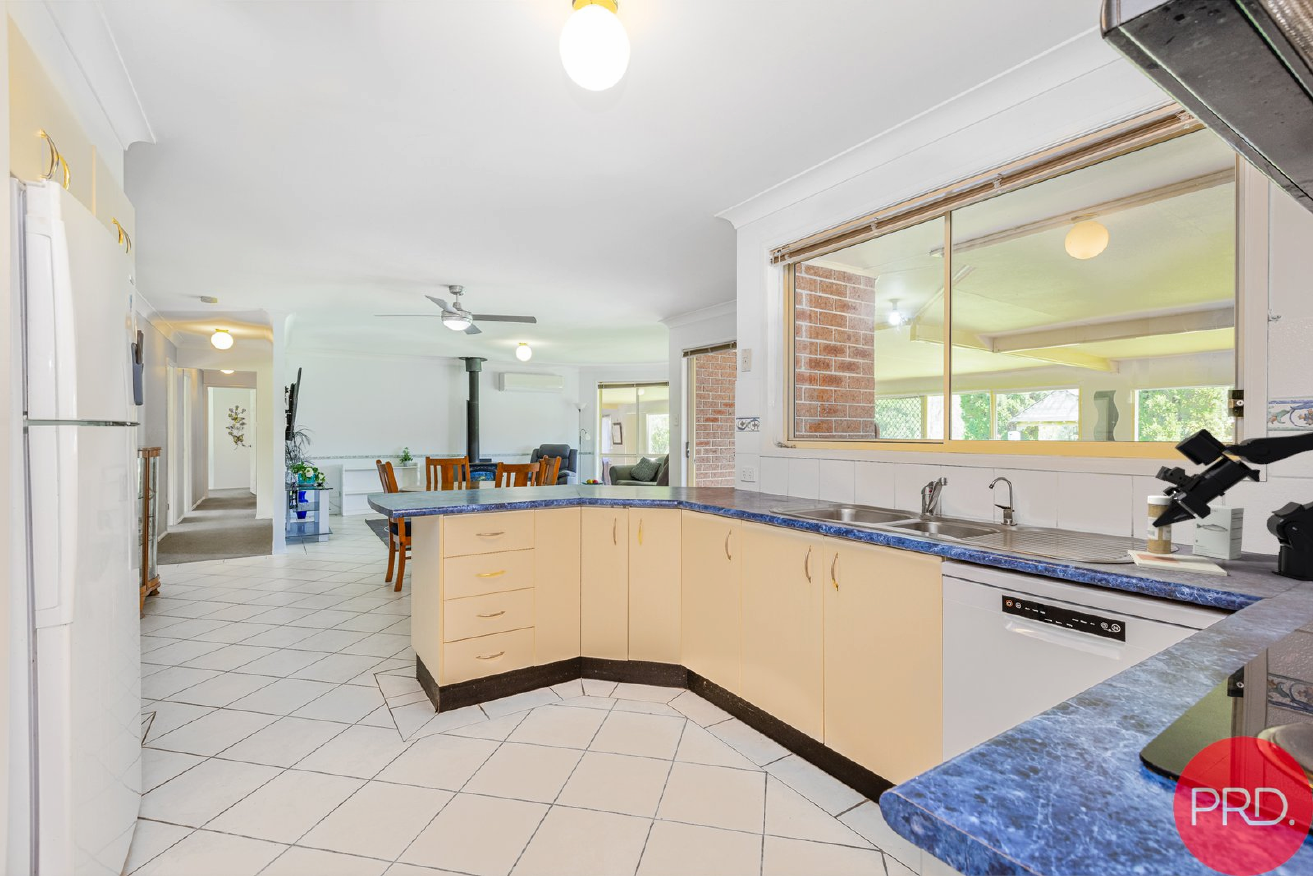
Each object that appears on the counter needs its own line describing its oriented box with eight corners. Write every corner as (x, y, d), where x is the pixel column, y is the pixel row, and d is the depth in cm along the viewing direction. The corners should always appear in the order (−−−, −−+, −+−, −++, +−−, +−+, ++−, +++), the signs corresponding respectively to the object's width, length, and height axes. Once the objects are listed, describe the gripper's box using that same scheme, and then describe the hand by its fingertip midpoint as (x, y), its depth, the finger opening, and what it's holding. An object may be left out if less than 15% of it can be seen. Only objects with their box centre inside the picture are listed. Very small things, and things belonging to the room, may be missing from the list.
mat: (1206, 561, 144) (1206, 557, 144) (1227, 576, 129) (1227, 572, 129) (1127, 552, 152) (1127, 549, 152) (1138, 566, 137) (1138, 562, 137)
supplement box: (1191, 554, 152) (1193, 504, 152) (1204, 552, 155) (1206, 503, 155) (1229, 560, 145) (1231, 508, 145) (1242, 557, 149) (1244, 507, 149)
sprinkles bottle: (1174, 555, 139) (1176, 497, 139) (1150, 553, 141) (1151, 496, 140) (1167, 551, 143) (1168, 495, 143) (1143, 550, 145) (1144, 494, 145)
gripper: (1174, 453, 147) (1117, 495, 153) (1192, 456, 131) (1127, 502, 137) (1217, 487, 143) (1156, 529, 149) (1240, 494, 127) (1171, 540, 133)
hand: (1152, 524), depth 142 cm, fingers closed on sprinkles bottle, 4 cm apart
